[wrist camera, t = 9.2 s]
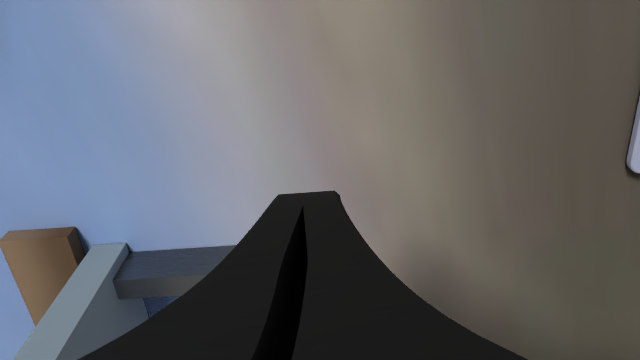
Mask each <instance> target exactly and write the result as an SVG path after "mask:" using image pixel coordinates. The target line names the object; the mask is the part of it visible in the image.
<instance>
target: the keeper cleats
mask: <svg viewBox="0 0 640 360" xmlns="http://www.w3.org/2000/svg"><path fill="white" fill-rule="evenodd" d="M236 246H237V245H235V246H220V247H204V248H189V249H174V250H158V251H143V252H129V253H128V255H127V256H126V258H125V260H124V262H123V263H122V265H121V267H120V269H119V270H118V272H117V274H116V275H115V277H114V279H113V284H114V287H115V290H116V293H117V296H118V299H119V300H122V299H138V298H155V297H171V296H182V295H183V294H185V293H186V292H187V291H188V290H190V289H191V288H192V287H193V286H194V285H196V284H197V283H198V282H199V281H200V280H202V279H203V278H204V277H205V276H206V275H207V274H209V273H210V272H211V271H212V270H213V269H214V268H215V267H216V266H217V265H218V264H219V263H220V262H221V261H222V260H223V259H224V258H225V257H226V256H227V255H228V254H229V253H230V252H231V251H232V250H233V249H234V248H235V247H236Z"/></svg>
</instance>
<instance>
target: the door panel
mask: <svg viewBox="0 0 640 360" xmlns="http://www.w3.org/2000/svg"><path fill="white" fill-rule="evenodd" d="M128 253H129V251H128V248H127V245H126V243H120V244H105V245H93V246H92V247H91V249H90V250H89V252H88V253H87V254H86V256H85V257H84V259H83V260H82V261H81V263H80V264H79V266H78V267H77V269H76V270H75V271H74V273H73V274H72V276H71V277H70V279H69V280H68V281H67V283H66V284H65V286H64V287H63V289H62V290H61V291H60V293H59V294H58V296H57V297H56V299H55V300H54V301H53V303H52V304H51V306H50V307H49V309H48V310H47V311H46V313H45V314H44V316H43V317H42V319H41V320H40V321H39V323H38V324H37V326H36V327H35V329H34V330H33V331H32V333H31V334H30V336H29V337H28V338H27V340H26V341H25V343H24V344H23V346H22V347H21V348H20V350H19V351H18V353H17V354H16V356H15V357H14V358H13V360H77V359H79V358H81V357H83V356H85V355H87V354H89V353H91V352H93V351H95V350H97V349H98V348H100V347H102V346H104V345H106V344H107V343H109V342H111V341H113V340H115V339H116V338H118V337H120V336H122V335H123V334H125V333H127V332H128V331H130V330H132V329H133V328H135V327H137V326H138V325H140V324H142V323H143V322H145V321H146V320H148V319H149V316H148V313H147V310H146V307H145V303H144V300H143V298H138V299H122V300H119V299H118V296H117V293H116V290H115V287H114V284H113V279H114V277H115V275H116V274H117V272H118V270H119V269H120V267H121V265H122V263H123V262H124V260H125V258H126V256H127V255H128Z"/></svg>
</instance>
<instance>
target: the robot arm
mask: <svg viewBox="0 0 640 360" xmlns="http://www.w3.org/2000/svg"><path fill="white" fill-rule="evenodd" d="M627 165H628V167H629V168H630V169H631V170H632V171H634V172H635V173H640V97H639V102H638V107H637V112H636V117H635V121H634V126H633V131H632V136H631V141H630V146H629V151H628V156H627ZM77 360H528V359H526V358H524V357H522V356H519V355H517V354H515V353H513V352H511V351H509V350H507V349H505V348H503V347H501V346H499V345H497V344H495V343H493V342H491V341H489V340H487V339H485V338H483V337H480V336H479V335H477V334H475V333H473V332H471V331H470V330H468V329H466V328H465V327H463V326H461V325H460V324H458V323H456V322H455V321H453V320H451V319H450V318H448V317H447V316H445V315H444V314H442V313H441V312H439V311H438V310H437V309H435V308H434V307H432V306H431V305H430V304H428V303H427V302H426V301H424V300H423V299H421V298H420V297H419V296H418V295H416V294H415V293H414V292H413V291H412V290H411V289H409V288H408V287H407V286H406V285H405V284H404V283H403V282H402V281H401V280H399V279H398V278H397V277H396V276H395V275H394V274H393V273H392V272H391V271H390V270H389V269H388V268H387V267H386V266H385V264H384V263H383V262H382V261H381V260H380V259H379V258H378V256H377V255H376V254H375V253H374V252H373V251H372V249H371V248H370V247H369V246H368V244H367V243H366V242H365V240H364V239H363V238H362V236H361V235H360V233H359V232H358V230H357V229H356V228H355V226H354V225H353V223H352V221H351V220H350V218H349V216H348V214H347V213H346V211H345V209H344V207H343V204H342V202H341V199H340V195H339V194H338V193H337V192H335V191H323V192H309V193H295V194H280V195H278V196H277V197H276V198H275V199H274V200H273V201H272V203H271V204H270V205H269V207H268V208H267V209H266V210H265V212H264V213H263V214H262V216H261V217H260V218H259V219H258V221H257V222H256V223H255V224H254V226H253V227H252V228H251V229H250V230H249V232H248V233H247V234H246V235H245V236H244V237H243V239H242V240H241V241H240V242H239V243H238V244H237V246H236V247H235V248H234V249H233V250H232V251H231V252H230V253H229V254H228V255H227V256H226V257H225V258H224V259H223V260H222V261H221V262H220V263H219V264H218V265H217V266H216V267H215V268H214V269H213V270H212V271H211V272H210V273H209V274H207V275H206V276H205V277H204V278H203V279H202V280H200V281H199V282H198V283H197V284H196V285H194V286H193V287H192V288H191V289H190V290H188V291H187V292H186V293H185V294H183V295H182V296H181V297H179V298H178V299H176V300H175V301H174V302H172V303H171V304H169V305H168V306H166V307H165V308H163V309H162V310H161V311H159V312H158V313H156V314H155V315H153V316H152V317H150V318H149V319H148V320H146V321H145V322H143V323H142V324H140V325H138V326H137V327H135V328H133V329H132V330H130V331H128V332H127V333H125V334H123V335H122V336H120V337H118V338H116V339H115V340H113V341H111V342H109V343H107V344H106V345H104V346H102V347H100V348H98V349H97V350H95V351H93V352H91V353H89V354H87V355H85V356H83V357H81V358H79V359H77Z"/></svg>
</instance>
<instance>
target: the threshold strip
mask: <svg viewBox="0 0 640 360" xmlns="http://www.w3.org/2000/svg"><path fill="white" fill-rule="evenodd" d="M0 247H1V250H2V252H3V254H4V257H5V259H6V261H7V263H8V266H9V268H10V270H11V272H12V275H13V277H14V279H15V281H16V284H17V286H18V288H19V290H20V293H21V295H22V297H23V300H24V302H25V304H26V306H27V309H28V311H29V313H30V315H31V318H32V320H33V322H34V324H35V327H36V326H37V324H38V323H39V321H40V320H41V319H42V317H43V316H44V314H45V313H46V311H47V310H48V309H49V307H50V306H51V304H52V303H53V301H54V300H55V299H56V297H57V296H58V294H59V293H60V291H61V290H62V289H63V287H64V286H65V284H66V283H67V281H68V280H69V279H70V277H71V276H72V274H73V273H74V271H75V270H76V269H77V267H78V266H79V264H80V263H81V261H82V260H83V259H84V257H85V254H84V251H83V248H82V245H81V242H80V239H79V237H78V234H77V231H76V228H75V227H68V228H53V229H38V230H24V231H9V232H7V233H6V234H5V235H4V236H3V237H2V238H1V239H0Z"/></svg>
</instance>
